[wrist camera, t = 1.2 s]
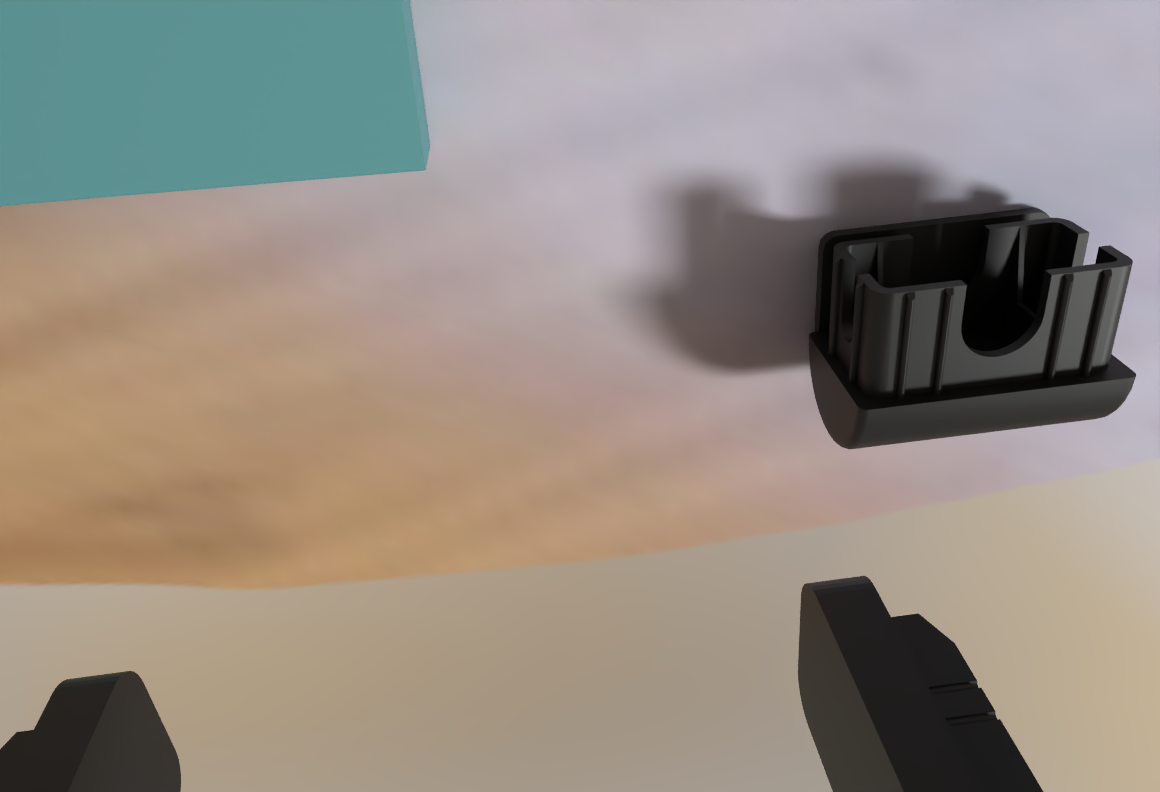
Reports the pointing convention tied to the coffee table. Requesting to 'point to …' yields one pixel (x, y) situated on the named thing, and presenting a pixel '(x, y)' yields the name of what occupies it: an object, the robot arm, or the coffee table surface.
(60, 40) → the socket block
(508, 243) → the coffee table surface
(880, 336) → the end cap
